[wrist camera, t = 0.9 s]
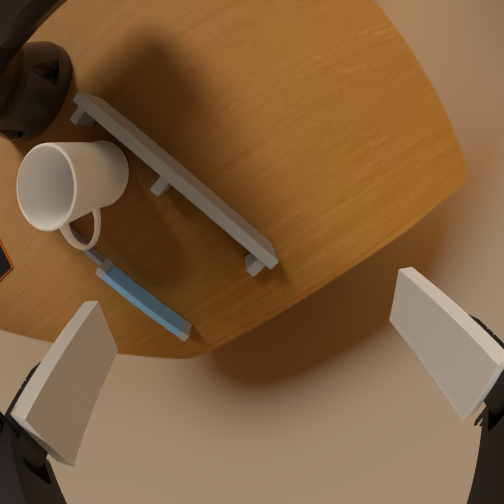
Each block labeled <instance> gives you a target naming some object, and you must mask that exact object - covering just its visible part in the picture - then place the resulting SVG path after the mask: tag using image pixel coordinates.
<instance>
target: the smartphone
mask: <svg viewBox="0 0 504 504" xmlns="http://www.w3.org/2000/svg"><path fill="white" fill-rule="evenodd" d="M12 268H13V264H12V262H11V260H10V258H9V256H8V254H7V252H6V250H5V248H4V246H3V244H2V242H1V240H0V280H1V279H2V278H3V277H4V276H5V275H6V274H7V273H8V272H9V271H10V270H11V269H12Z"/></svg>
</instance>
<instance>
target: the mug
mask: <svg viewBox="0 0 504 504" xmlns="http://www.w3.org/2000/svg"><path fill="white" fill-rule="evenodd" d="M128 178H129V167H128V162H127V159H126V157H125V155H124V153H123V151H122V150H121V149H120V148H119V147H118V146H117V145H115V144H114V143H112V142H109V141H104V140H100V141H95V142H55V143H43V144H39V145H37V146H35V147H34V148H33V149H31V150H30V151H29V152H28V154H27V155H26V156H25V158H24V159H23V161H22V163H21V165H20V168H19V172H18V176H17V186H16V188H17V198H18V202H19V206H20V208H21V211H22V213H23V215H24V216H25V218H26V219H27V220H28V222H29V223H30V224H31V225H33V226H34V227H35V228H37V229H39V230H43V231H53V230H56V229H58V228H59V229H60V231H61V232H62V234H63V236H64V237H65V239H66V240H67V241H68V242H69V243H70V244H71V245H72V246H73V247H75V248H76V249H79V250H87V249H90V248H91V247H93V246H94V245H95V244H96V242H97V241H98V238H99V235H100V230H101V213H100V207H106V206H109V205H111V204H113V203H114V202H116V201H117V200H118V199H119V198H120V197H121V195H122V194H123V192H124V191H125V189H126V186H127V183H128ZM90 212H92V213H93V216H94V234H93V238H92V240H91V242H90V243H89V244H88V245H84V244H81V243H80V242H79V241H78V240H77V239H76V238H75V237H74V235H73V234H72V232H71V230H70V226H69V223H70V222H72V221H74V220H76V219H78V218H80V217H82V216H84V215H86V214H88V213H90Z"/></svg>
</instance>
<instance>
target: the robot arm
mask: <svg viewBox="0 0 504 504" xmlns="http://www.w3.org/2000/svg"><path fill="white" fill-rule="evenodd" d="M66 1H67V0H0V136H1V137H3V138H5V139H7V140H10V141H25V140H29V139H32V138H34V137H36V136H37V135H39V134H40V133H41V132H42V131H44V130H45V129H46V128H47V127H48V125H49V124H50V123H51V122H52V120H53V119H54V118H55V116H56V114H57V113H58V111H59V109H60V107H61V105H62V103H63V101H64V99H65V96H66V93H67V90H68V86H69V82H70V74H71V65H70V60H69V57H68V54H67V53H66V51H65V50H64V49H63V48H62V47H60V46H58V45H56V44H54V43H51V42H46V41H41V42H29V43H26V42H27V41H28V39H29V38H30V37H31V36H32V35H33V34H34V33H35V31H36V30H37V29H38V28H39V27H40V26H41V25H42V24H43V23H44V22H45V21H46V20H47V19H48V18H49V17H50V16H51V15H52V14H53V13H54V12H55V11H56V10H57V9H58V8H59V7H60V6H61V5H63V4H64V3H65V2H66ZM390 321H391V323H392V324H393V325H394V327H395V328H396V329H397V330H398V332H399V333H400V334H401V336H402V337H403V338H404V339H405V341H406V342H407V343H408V345H409V346H410V347H411V349H412V350H413V351H414V352H415V354H416V355H417V356H418V358H419V359H420V361H421V362H422V363H423V364H424V366H425V367H426V369H427V370H428V372H429V373H430V374H431V376H432V377H433V378H434V380H435V381H436V382H437V384H438V386H439V387H440V388H441V390H442V391H443V392H444V394H445V396H446V397H447V399H448V400H449V401H450V403H451V404H452V406H453V407H454V409H455V410H456V412H457V413H458V415H459V416H460V418H461V420H463V419H465V418H467V417H469V416H470V415H472V414H474V413H475V412H476V411H477V410H478V408H479V407H480V405H481V404H482V403H483V401H484V402H485V404H486V405H487V406H486V407H485V409H484V410H483V411H482V413H481V414H480V415H479V416H478V418H477V419H476V420H475V423H474V425H475V426H476V425H477V423H479V421H480V420H481V419H482V418H483V420H482V422H481V424H480V425H479V426H482V431H481V439H480V447H479V453H478V459H477V464H476V469H475V474H474V478H473V483H472V487H471V491H470V494H469V498H468V501H467V504H504V343H503V342H502V341H501V340H500V339H499V338H497V336H496V335H493V332H492V331H490V330H489V329H487V327H486V326H485V325H484V324H483V323H482V322H481V321H480V320H479V319H477V318H475V317H473V316H471V315H469V314H467V313H466V312H464V311H463V310H462V309H461V308H460V307H459V306H458V305H457V304H456V303H454V302H453V301H452V300H451V299H450V298H449V297H447V296H446V295H445V294H444V293H443V292H442V291H440V290H439V289H438V288H437V287H436V286H434V285H433V284H432V283H431V282H430V281H428V280H427V279H426V278H425V277H424V276H422V275H421V274H420V273H418V272H417V271H416V270H415V269H414V268H412V267H409V268H404V269H399V271H398V277H397V283H396V289H395V295H394V300H393V305H392V310H391V315H390ZM117 351H118V348H117V346H116V344H115V342H114V339H113V337H112V335H111V332H110V330H109V327H108V325H107V322H106V320H105V317H104V315H103V312H102V310H101V307H100V304H99V301H85V302H84V303H83V304H82V306H81V307H80V308H79V310H78V311H77V312H76V313H75V315H74V316H73V317H72V319H71V320H70V321H69V323H68V324H67V326H66V327H65V328H64V330H63V331H62V332H61V334H60V335H59V337H58V338H57V339H56V341H55V342H54V344H53V345H52V347H51V348H50V350H49V351H48V352H47V354H46V355H45V357H44V358H43V360H42V361H41V362H40V363H39V364H38V365H37V366H35V367H34V368H33V369H32V370H31V371H30V373H29V375H28V376H27V378H26V381H24V383H23V384H22V386H21V388H20V389H19V391H18V392H17V394H16V396H15V398H14V399H13V401H12V403H11V405H10V406H9V408H8V410H7V412H6V413H5V415H3V414H2V413H1V412H0V504H67V503H66V501H65V499H64V497H63V494H62V493H61V490H60V487H59V485H58V482H57V480H56V478H55V475H54V472H53V470H52V467H51V464H50V462H49V461H48V460H47V459H46V457H47V454H49V455H51V456H52V457H53V458H54V459H55V460H56V461H58V462H60V463H63V464H66V465H70V466H74V462H75V459H76V456H77V453H78V450H79V447H80V444H81V441H82V438H83V435H84V432H85V429H86V427H87V424H88V421H89V419H90V416H91V413H92V410H93V408H94V405H95V403H96V400H97V398H98V395H99V393H100V390H101V388H102V386H103V383H104V381H105V378H106V376H107V374H108V371H109V369H110V367H111V364H112V362H113V360H114V357H115V355H116V353H117Z"/></svg>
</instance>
